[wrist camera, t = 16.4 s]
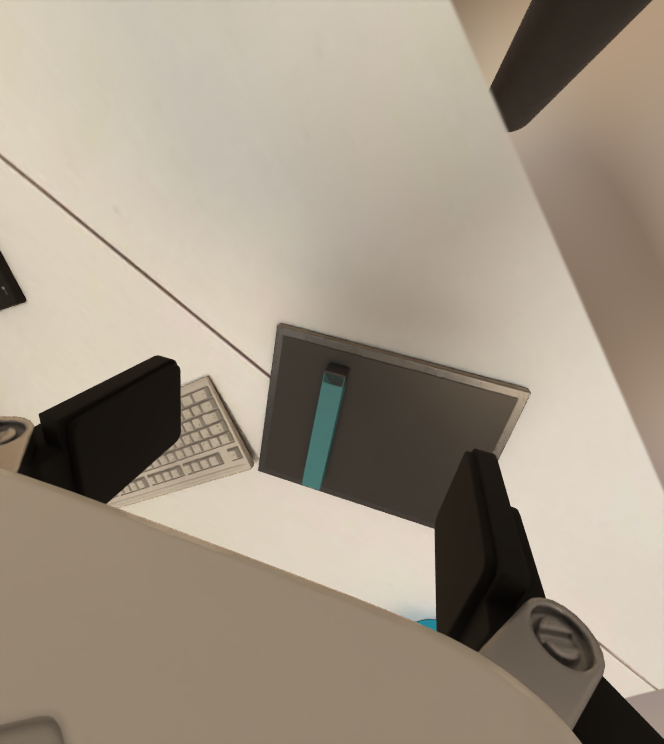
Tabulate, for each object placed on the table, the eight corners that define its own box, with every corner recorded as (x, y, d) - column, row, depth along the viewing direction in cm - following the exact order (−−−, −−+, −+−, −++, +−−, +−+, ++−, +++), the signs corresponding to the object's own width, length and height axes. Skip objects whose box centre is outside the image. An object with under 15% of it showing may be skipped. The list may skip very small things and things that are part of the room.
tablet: (280, 322, 31) (276, 325, 30) (528, 388, 28) (531, 393, 27) (261, 465, 37) (257, 471, 36) (459, 530, 34) (460, 538, 34)
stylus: (329, 362, 30) (324, 369, 28) (350, 367, 30) (346, 375, 28) (305, 478, 35) (300, 490, 34) (323, 483, 35) (318, 496, 33)
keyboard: (209, 374, 34) (197, 382, 33) (259, 459, 37) (251, 471, 35) (39, 448, 45) (23, 458, 43) (87, 511, 47) (74, 522, 46)
